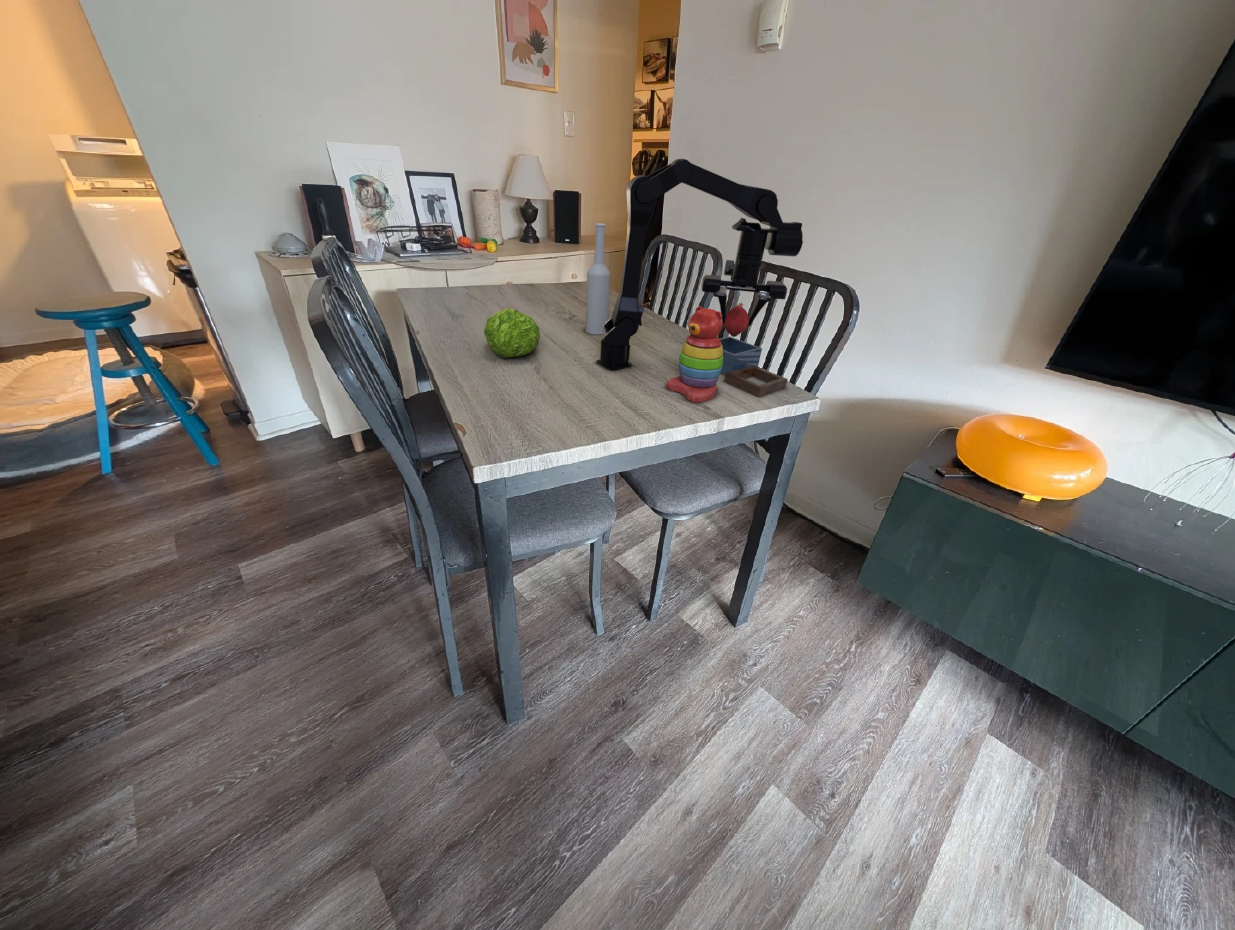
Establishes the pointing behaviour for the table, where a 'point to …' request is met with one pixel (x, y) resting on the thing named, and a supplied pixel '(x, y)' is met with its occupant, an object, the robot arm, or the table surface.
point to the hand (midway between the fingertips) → (735, 324)
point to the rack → (771, 386)
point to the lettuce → (511, 333)
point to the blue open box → (738, 354)
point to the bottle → (597, 287)
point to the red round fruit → (736, 320)
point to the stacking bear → (700, 357)
